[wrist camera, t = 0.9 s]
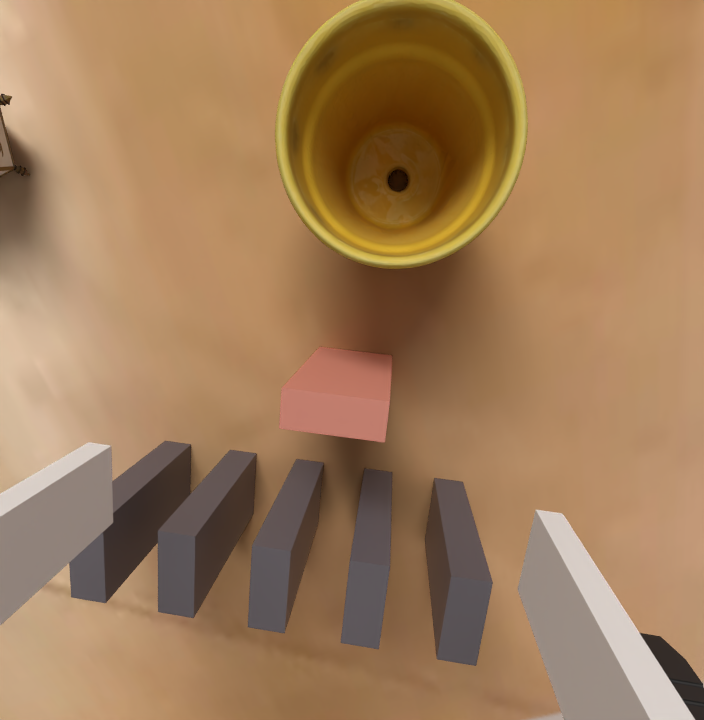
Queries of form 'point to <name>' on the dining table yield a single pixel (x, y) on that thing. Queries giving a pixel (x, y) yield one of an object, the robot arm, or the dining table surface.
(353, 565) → the domino
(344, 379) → the domino
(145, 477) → the domino
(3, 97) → the game die
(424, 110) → the plant pot
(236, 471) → the domino
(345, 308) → the dining table surface
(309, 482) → the domino
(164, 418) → the dining table surface
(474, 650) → the domino
